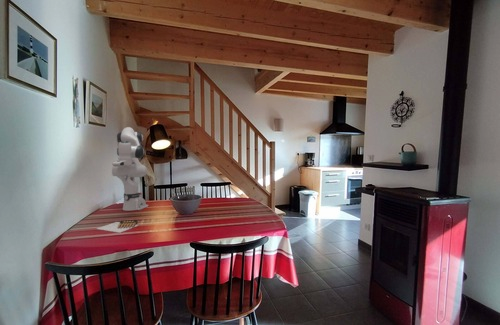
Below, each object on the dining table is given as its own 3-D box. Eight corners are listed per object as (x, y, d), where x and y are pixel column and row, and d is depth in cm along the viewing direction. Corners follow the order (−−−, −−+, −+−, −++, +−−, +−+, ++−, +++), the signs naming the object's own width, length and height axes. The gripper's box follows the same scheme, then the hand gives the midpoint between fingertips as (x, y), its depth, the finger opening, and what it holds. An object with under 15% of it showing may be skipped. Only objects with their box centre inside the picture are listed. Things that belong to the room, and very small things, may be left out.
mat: (116, 222, 173) (116, 221, 173) (138, 225, 167) (138, 225, 167) (96, 229, 158) (96, 228, 158) (119, 232, 151) (119, 232, 151)
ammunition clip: (121, 223, 169) (116, 229, 158) (121, 220, 169) (116, 226, 157) (137, 222, 172) (133, 228, 160) (137, 219, 172) (133, 225, 160)
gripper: (132, 161, 189) (132, 179, 190) (110, 163, 170) (110, 182, 170) (139, 162, 187) (139, 179, 188) (117, 163, 168) (117, 183, 168)
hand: (125, 181), depth 179 cm, fingers closed
